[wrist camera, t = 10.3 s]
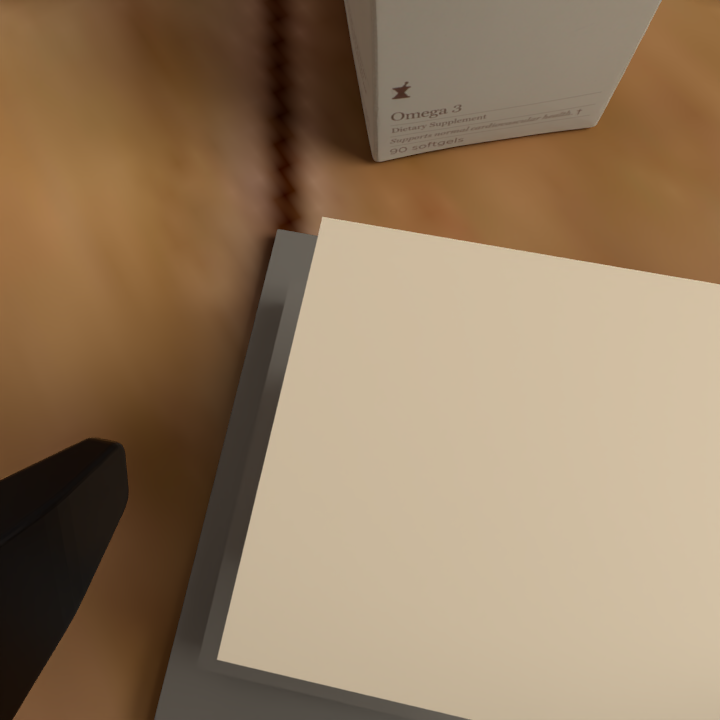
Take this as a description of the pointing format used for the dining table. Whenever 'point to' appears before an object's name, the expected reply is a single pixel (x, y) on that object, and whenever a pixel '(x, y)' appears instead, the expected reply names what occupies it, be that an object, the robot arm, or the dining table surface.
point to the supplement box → (487, 67)
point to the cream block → (491, 486)
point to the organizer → (228, 534)
